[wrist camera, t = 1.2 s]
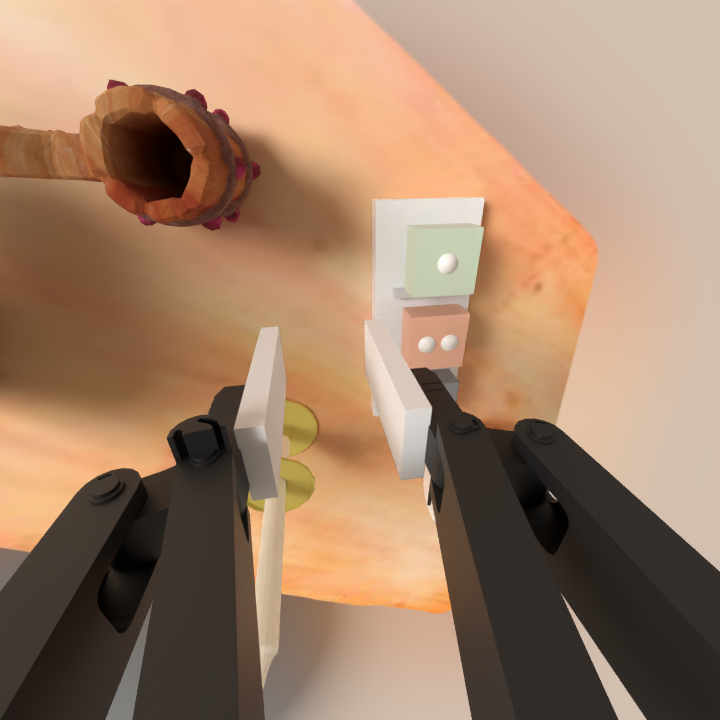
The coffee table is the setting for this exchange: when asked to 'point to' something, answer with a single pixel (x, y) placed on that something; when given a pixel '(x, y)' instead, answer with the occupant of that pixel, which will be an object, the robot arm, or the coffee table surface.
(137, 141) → the mug
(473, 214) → the board
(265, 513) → the candle
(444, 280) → the tile sage
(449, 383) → the tile charcoal
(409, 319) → the tile terracotta
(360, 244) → the coffee table surface
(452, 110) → the coffee table surface
